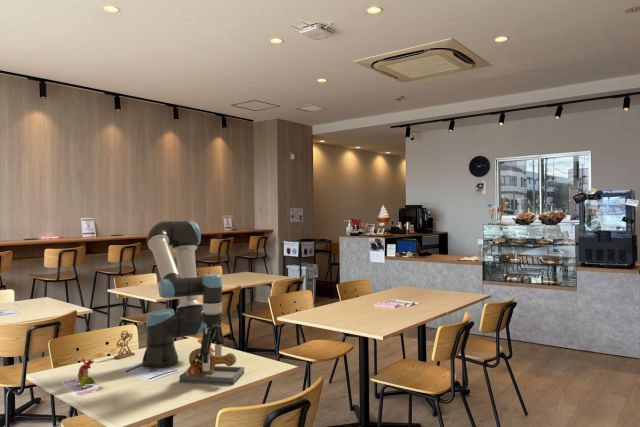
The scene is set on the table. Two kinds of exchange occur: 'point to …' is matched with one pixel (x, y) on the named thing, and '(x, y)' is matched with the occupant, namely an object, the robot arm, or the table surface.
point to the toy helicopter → (197, 365)
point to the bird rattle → (85, 374)
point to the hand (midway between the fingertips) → (212, 365)
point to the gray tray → (215, 376)
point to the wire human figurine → (124, 348)
